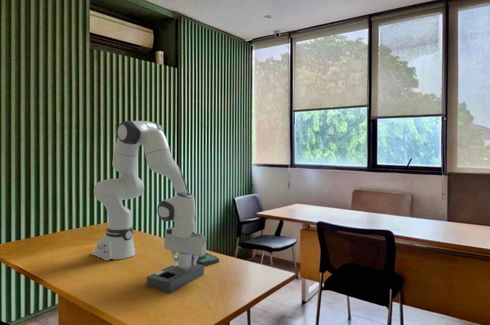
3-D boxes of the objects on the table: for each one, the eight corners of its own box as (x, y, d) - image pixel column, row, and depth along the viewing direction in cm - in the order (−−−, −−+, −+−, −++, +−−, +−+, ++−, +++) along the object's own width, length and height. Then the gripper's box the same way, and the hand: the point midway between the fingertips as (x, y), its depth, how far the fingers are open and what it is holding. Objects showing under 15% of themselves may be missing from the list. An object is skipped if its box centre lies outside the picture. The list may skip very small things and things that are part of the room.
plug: (178, 276, 147) (178, 253, 146) (184, 273, 151) (185, 250, 151) (185, 278, 145) (185, 255, 145) (192, 274, 149) (192, 252, 149)
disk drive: (183, 260, 169) (202, 268, 159) (183, 255, 169) (202, 262, 158) (200, 255, 176) (219, 262, 166) (200, 250, 176) (219, 257, 166)
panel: (146, 286, 136) (146, 276, 136) (181, 269, 155) (181, 260, 155) (170, 293, 130) (170, 282, 130) (203, 274, 150) (203, 264, 150)
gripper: (209, 232, 145) (209, 264, 145) (171, 226, 154) (171, 256, 155) (200, 235, 139) (200, 269, 140) (161, 229, 149) (161, 260, 149)
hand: (184, 262), depth 147 cm, fingers open, 8 cm apart
